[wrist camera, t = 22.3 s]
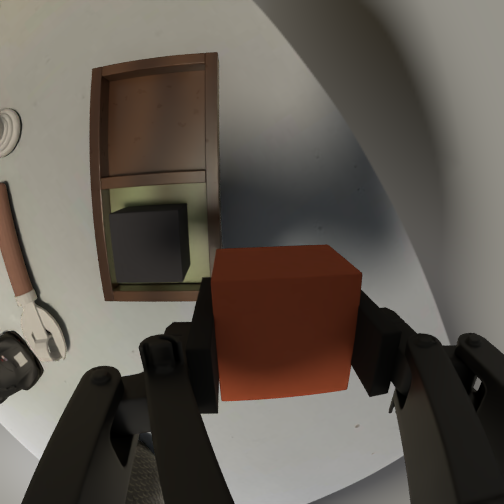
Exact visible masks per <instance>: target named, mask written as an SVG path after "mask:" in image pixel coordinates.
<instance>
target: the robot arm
mask: <svg viewBox="0 0 504 504" xmlns="http://www.w3.org/2000/svg"><path fill="white" fill-rule="evenodd" d="M139 351H140V355H141V360H142V364H143V368H144V372H142V373H139V374H135V375H130V376H123V377H121V374H120V372H119V371H118V369H116V368H114V367H110V366H99V367H95V368H92V369H90V370H89V371H87V372H86V373H85V374H84V375H83V376H82V378H81V380H80V382H79V384H78V386H77V387H76V389H75V391H74V393H73V395H72V397H71V399H70V400H69V402H68V404H67V406H66V408H65V410H64V412H63V414H62V416H61V418H60V420H59V422H58V424H57V426H56V428H55V430H54V432H53V434H52V436H51V438H50V440H49V442H48V444H47V446H46V448H45V450H44V453H43V455H42V457H41V459H40V461H39V463H38V466H37V468H36V470H35V472H34V475H33V477H32V479H31V482H30V484H29V487H28V489H27V491H26V494H25V496H24V498H23V501H22V503H21V504H125V501H126V496H127V490H128V485H129V480H130V475H131V470H132V466H133V461H134V456H135V452H136V447H137V442H138V438H139V434H140V433H146V432H151V434H152V441H153V447H154V453H155V459H156V464H157V470H158V475H159V480H160V485H161V490H162V495H163V499H164V504H235V503H234V501H233V499H232V496H231V494H230V491H229V489H228V487H227V484H226V482H225V479H224V477H223V474H222V472H221V469H220V467H219V464H218V461H217V459H216V456H215V453H214V451H213V448H212V445H211V443H210V440H209V437H208V434H207V431H206V429H205V426H204V423H203V420H202V417H201V414H211V413H218V393H219V369H218V359H217V348H216V338H215V326H214V316H213V306H212V293H211V277H202V281H201V285H200V289H199V293H198V297H197V301H196V306H195V310H194V314H193V318H192V322H173V323H172V324H171V325H169V326H168V327H167V328H166V330H165V333H164V334H160V335H154V336H150V337H148V338H146V339H144V340H143V341H142V342H141V343H140V345H139ZM351 365H352V367H353V369H354V370H355V372H356V374H357V376H358V377H359V379H360V381H361V383H362V384H363V386H364V388H365V390H366V391H367V393H368V395H369V397H372V396H377V395H382V394H386V393H388V390H389V386H390V382H392V383H393V384H394V386H395V391H394V394H393V398H392V401H391V404H390V408H389V413H392V410H393V408H394V407H395V409H396V412H395V413H396V414H397V419H398V424H399V430H400V435H401V441H402V446H403V452H404V458H405V464H406V471H407V478H408V485H409V494H410V502H411V504H504V354H503V353H501V352H500V351H499V350H498V349H497V348H496V347H494V346H493V345H492V344H491V343H490V342H489V341H487V340H486V339H485V338H483V337H482V336H480V335H477V334H475V333H466V334H462V335H460V336H459V338H458V341H457V345H456V346H442V344H441V342H440V341H439V340H438V339H437V338H436V337H434V336H432V335H428V334H421V333H419V334H417V333H416V332H415V331H414V330H413V329H412V328H411V327H410V326H409V325H408V324H407V323H405V321H404V320H403V319H402V318H400V317H399V316H398V315H397V314H396V313H395V312H394V311H392V310H390V309H388V308H386V307H384V308H379V307H378V306H377V305H376V304H375V303H374V302H373V301H372V300H371V299H370V298H369V297H368V296H367V295H366V294H365V293H364V292H363V291H362V290H361V294H360V303H359V306H358V315H357V323H356V331H355V339H354V346H353V353H352V359H351ZM477 377H478V378H479V379H480V380H481V381H482V382H481V385H480V387H479V389H478V391H476V390H475V389H474V388H473V386H474V384H475V381H476V379H477Z"/></svg>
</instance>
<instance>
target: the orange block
mask: <svg viewBox="0 0 504 504" xmlns="http://www.w3.org/2000/svg"><path fill="white" fill-rule="evenodd" d="M361 283H362V273H361V272H360V271H359V270H358V269H357V268H355V267H354V266H353V265H352V264H351V263H350V262H348V261H347V260H346V259H345V258H344V257H342V256H341V255H340V254H339V253H337V252H336V251H335V250H334V249H333V248H331V247H330V246H329V245H303V246H277V247H252V248H227V249H216V254H215V260H214V266H213V272H212V277H211V293H212V306H213V316H214V326H215V338H216V348H217V359H218V369H219V382H220V391H221V400H222V401H241V400H259V399H273V398H284V397H294V396H304V395H312V394H320V393H327V392H334V391H341V390H347V387H348V381H349V375H350V369H351V359H352V353H353V346H354V339H355V331H356V323H357V315H358V306H359V303H360V294H361Z"/></svg>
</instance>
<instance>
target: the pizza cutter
mask: <svg viewBox="0 0 504 504" xmlns="http://www.w3.org/2000/svg"><path fill="white" fill-rule="evenodd" d="M0 249H1V252H2V256H3V259H4V263H5V266H6V269H7V272H8V276H9V279H10V282H11V285H12V288H13V290H14V293H15V299H16V302H17V304H18V306H22V307H23V310H24V311H23V313H22V315H21V327H22V331H23V335H24V337H25V339H26V341H27V343H28V345H29V347H30V348H31V350H32V351H33V352H34V353H35V355H36V356H37V357H38V358H39V359H40V361H41V362H50V361H59V360H60V359H61V358H63V360H64V359H65V358H66V352H67V348H66V342H65V339H64V336H63V333H62V331H61V328H60V326H59V325H58V323H57V322H56V320H55V319H54V317H53V316H52V315H51V314H50V313H49V312H48V311H47V310H46V309H44V308H42V307H40V306H38V305H36V304H35V302H34V300H36V299H37V296H36V293H35V290H34V288H33V287H32V285H31V282H30V279H29V276H28V273H27V269H26V266H25V263H24V260H23V256H22V253H21V249H20V246H19V242H18V238H17V235H16V231H15V226H14V222H13V218H12V214H11V209H10V204H9V199H8V194H7V189H6V185H5V184H4V183H0ZM45 328H46V329H47V330H49V331H50V332H51V334H47V332H46V330H45ZM33 334H34V335H33ZM34 336H35V337H34ZM35 339H36V340H35ZM48 346H49V349H50V352H49V350H48Z"/></svg>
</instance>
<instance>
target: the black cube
mask: <svg viewBox="0 0 504 504" xmlns="http://www.w3.org/2000/svg"><path fill="white" fill-rule="evenodd" d="M109 222H110V233H111V242H112V251H113V259H114V266H115V274H116V280H117V283H159V282H183V281H184V279H185V276H186V274H187V272H188V269H189V267H190V264H191V263H190V248H189V232H188V212H187V203H181V204H161V205H143V206H128V207H125V208H123V209H120V210H118V211H115V212H113V213H110V214H109Z"/></svg>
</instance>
